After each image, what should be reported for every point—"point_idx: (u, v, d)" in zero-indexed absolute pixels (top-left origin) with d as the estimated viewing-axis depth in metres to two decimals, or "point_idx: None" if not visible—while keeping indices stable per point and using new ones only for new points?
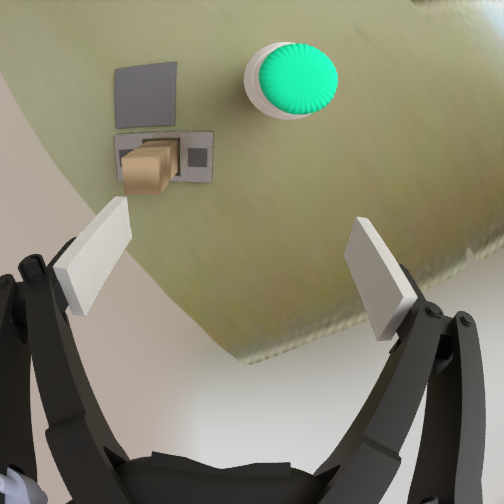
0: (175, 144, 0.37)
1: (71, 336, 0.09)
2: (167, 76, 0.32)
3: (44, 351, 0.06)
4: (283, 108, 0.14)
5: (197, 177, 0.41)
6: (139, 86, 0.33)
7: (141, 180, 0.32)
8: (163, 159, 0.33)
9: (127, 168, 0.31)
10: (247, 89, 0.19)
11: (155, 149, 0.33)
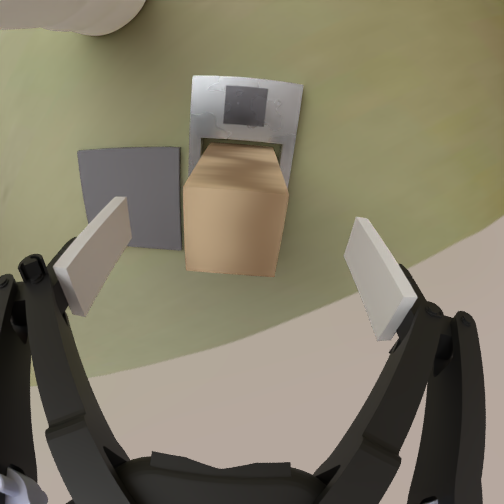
0: (212, 146, 0.19)
1: (71, 336, 0.09)
2: (97, 162, 0.21)
3: (44, 351, 0.06)
4: None
5: (288, 109, 0.18)
6: None
7: (244, 234, 0.14)
8: (210, 171, 0.14)
9: (210, 262, 0.15)
10: None
11: None
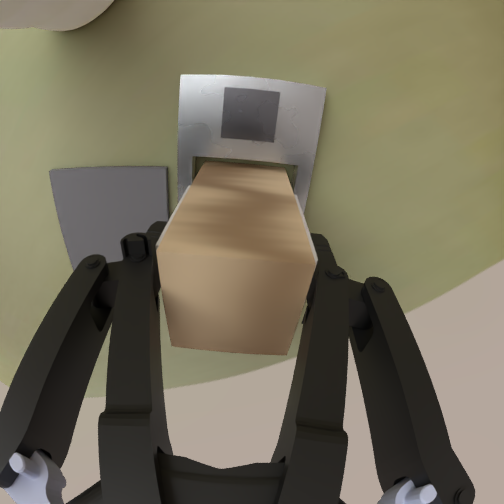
0: (206, 168, 0.15)
1: (158, 322, 0.10)
2: (71, 184, 0.17)
3: (126, 334, 0.07)
4: None
5: (306, 120, 0.14)
6: (93, 237, 0.19)
7: (248, 313, 0.10)
8: (199, 217, 0.10)
9: (203, 340, 0.11)
10: None
11: None
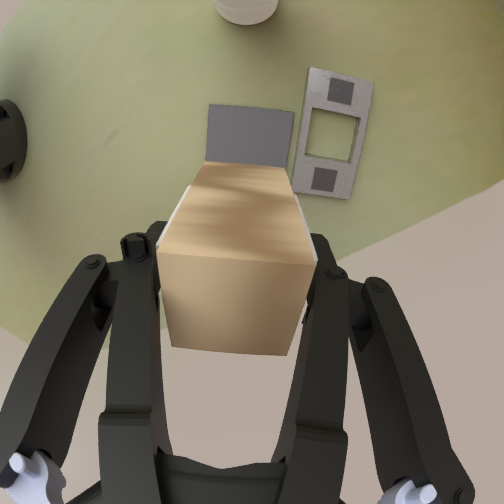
0: (206, 169, 0.15)
1: (158, 323, 0.10)
2: (227, 114, 0.29)
3: (126, 334, 0.07)
4: None
5: (365, 97, 0.27)
6: (233, 151, 0.32)
7: (247, 313, 0.10)
8: (199, 218, 0.10)
9: (203, 340, 0.11)
10: None
11: None
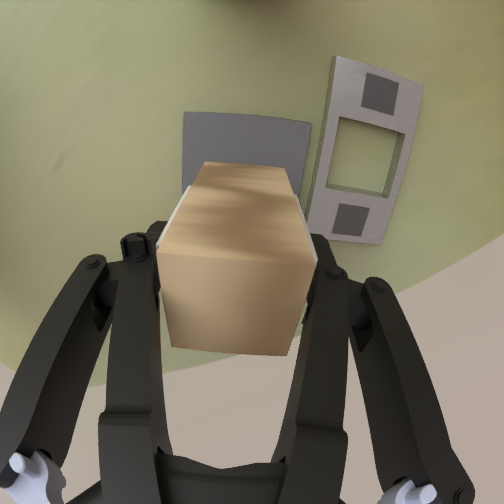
0: (206, 169, 0.15)
1: (158, 323, 0.10)
2: (210, 127, 0.20)
3: (126, 334, 0.07)
4: None
5: (412, 104, 0.17)
6: None
7: (247, 314, 0.10)
8: (199, 218, 0.10)
9: (203, 340, 0.11)
10: None
11: None
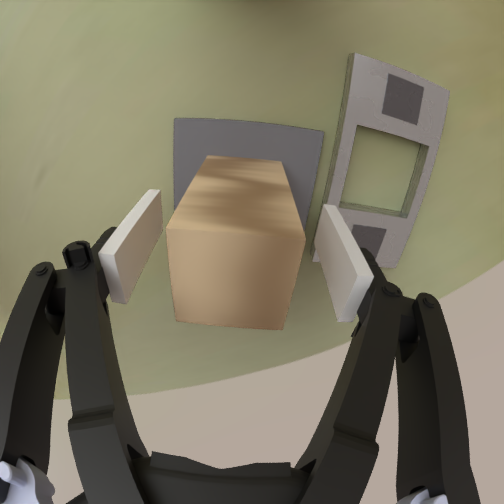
0: (209, 162, 0.16)
1: (109, 327, 0.09)
2: (205, 136, 0.17)
3: (80, 340, 0.06)
4: None
5: (437, 112, 0.14)
6: None
7: (246, 286, 0.11)
8: (203, 201, 0.11)
9: (205, 314, 0.12)
10: None
11: None
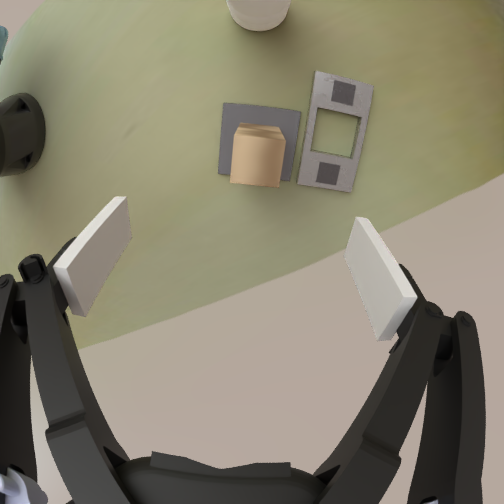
0: (242, 124, 0.31)
1: (71, 336, 0.09)
2: (240, 112, 0.32)
3: (44, 351, 0.06)
4: None
5: (365, 98, 0.29)
6: None
7: (263, 161, 0.26)
8: (245, 132, 0.27)
9: (244, 177, 0.27)
10: None
11: None
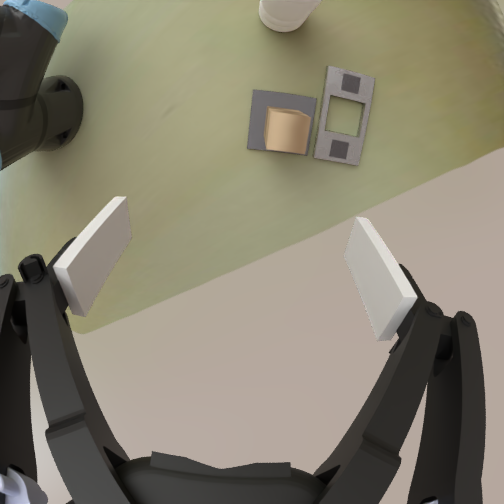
0: None
1: (71, 336, 0.09)
2: (266, 98, 0.38)
3: (44, 351, 0.06)
4: None
5: (368, 88, 0.35)
6: None
7: (293, 132, 0.32)
8: (277, 110, 0.32)
9: (278, 145, 0.33)
10: None
11: (267, 120, 0.34)
